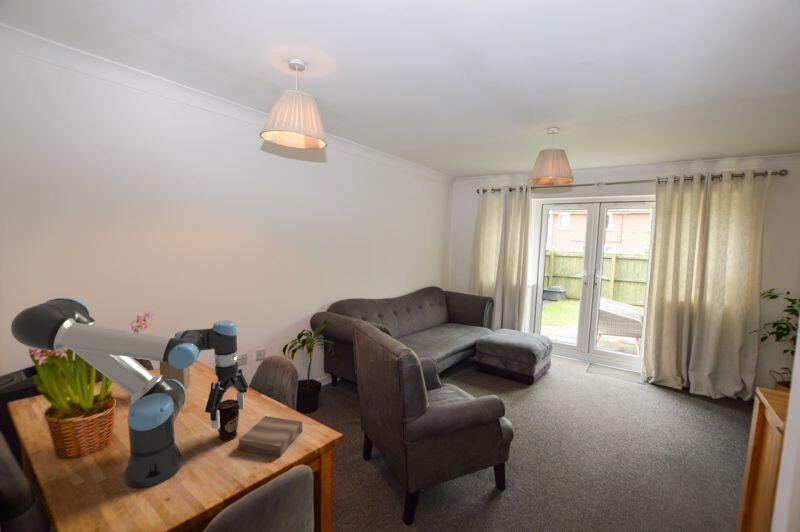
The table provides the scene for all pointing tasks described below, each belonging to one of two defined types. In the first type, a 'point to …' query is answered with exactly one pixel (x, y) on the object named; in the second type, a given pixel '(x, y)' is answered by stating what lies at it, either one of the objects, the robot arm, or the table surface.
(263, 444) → the block
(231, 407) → the coffee cup
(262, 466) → the table surface
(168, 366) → the block
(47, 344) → the robot arm
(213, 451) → the table surface
